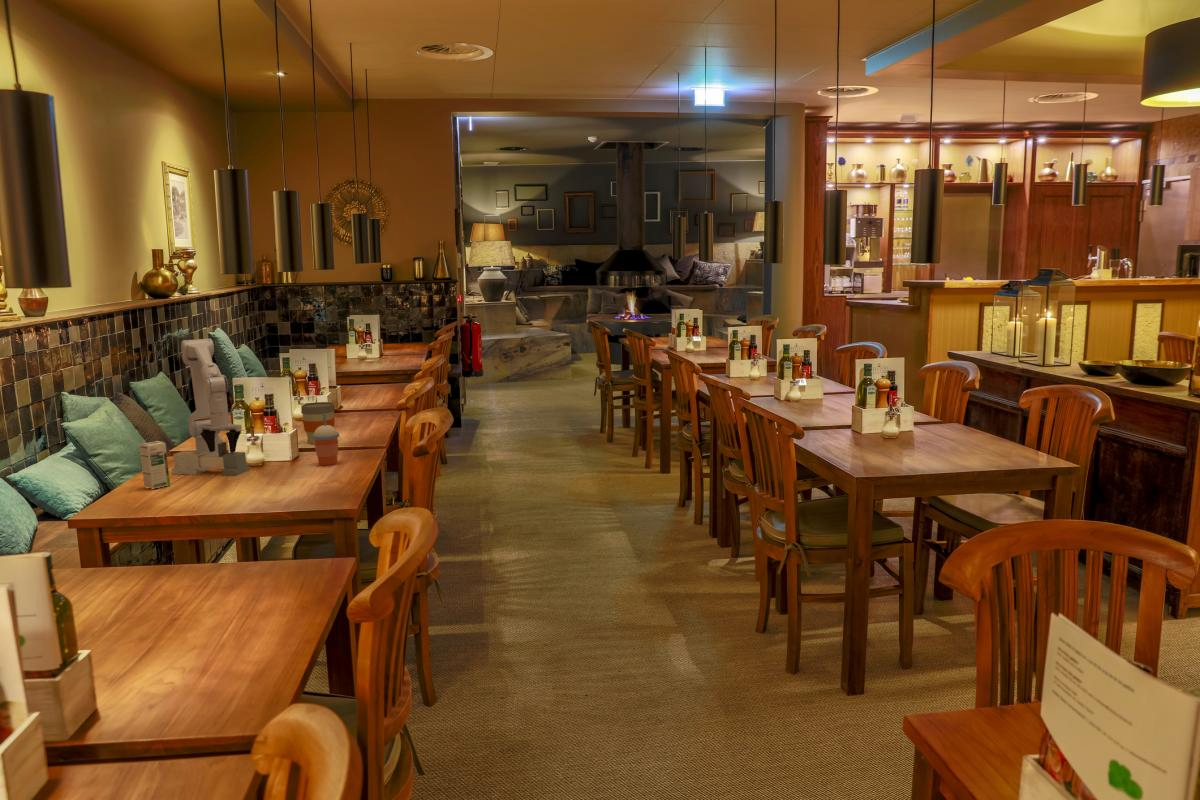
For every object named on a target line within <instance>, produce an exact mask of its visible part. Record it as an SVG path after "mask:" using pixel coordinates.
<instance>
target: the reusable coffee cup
mask: <svg viewBox="0 0 1200 800" xmlns="http://www.w3.org/2000/svg"><path fill="white" fill-rule="evenodd" d="M300 409H301V411H300V413H301V414H302V425H303V428H304V432H305V433H306V437H307V441H308V442H307V444H308V445H313V444H315V440H314V439H313V438H312V435H313V434H314V432H315V430H316V429H317V428H318V427H320V426H322V425H324V422H323V413H326V425H330V426H332V427H334V428H335V421H336V420H335V409H336V408H335V403H333V402H329V401H328V402H327V401H322V402H321V401H320V402H311V403H310V402H309V403H305V404H302V405H301V407H300Z"/></svg>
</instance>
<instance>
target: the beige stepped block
mask: <svg viewBox="0 0 1200 800" xmlns="http://www.w3.org/2000/svg"><path fill="white" fill-rule="evenodd" d="M172 455H173V462H174V463H173V465H174V467H173V468H171V471H172V472H171V473H172V475H180V474H185V476H187V475H186V474H188V476H190V475H191V476H195V475H196V476H198V475H199V474H202V473H205V472H208V471H209V470H212V467H200V466H199V456H200V455H207V451H196V450H195V451H194V450H193V451H192V450H185V451H184V450H183V451H179V452H177V453H173V454H172Z"/></svg>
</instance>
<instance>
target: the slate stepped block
mask: <svg viewBox="0 0 1200 800" xmlns="http://www.w3.org/2000/svg"><path fill="white" fill-rule="evenodd" d="M246 457H247V456H246V452H245V451H235V452H230V451H229V452H227V454H225V455H223V462H224V467H223V468H222V469H221V476H231V477H232V476H238V475H240V474H243V473H245V472H248V471H249V470H250V466H249V464H248V463H247V458H246Z"/></svg>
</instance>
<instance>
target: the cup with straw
mask: <svg viewBox="0 0 1200 800" xmlns="http://www.w3.org/2000/svg"><path fill="white" fill-rule="evenodd" d="M323 422H324V425H322V426H320V427H318V428H317V429H316V430H315V432H314V434H313V435H312V438H313V439H314V440H315V445H314V448H315V453H316V457H317V461H318V465H319V466H325V467H326V466H333V465H334V466H335V465H337V463H338V454H339V441H338V440H339V438H340V433H339V431H337V429H336V428H335V426H334V427H332V426H330V425H326V413H323Z"/></svg>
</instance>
